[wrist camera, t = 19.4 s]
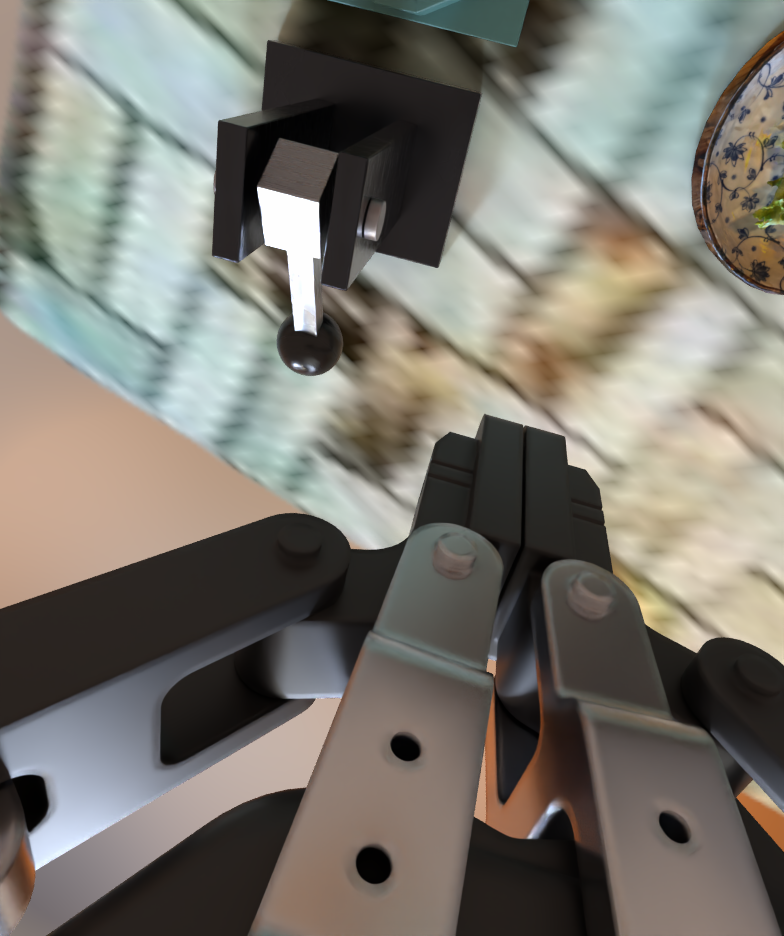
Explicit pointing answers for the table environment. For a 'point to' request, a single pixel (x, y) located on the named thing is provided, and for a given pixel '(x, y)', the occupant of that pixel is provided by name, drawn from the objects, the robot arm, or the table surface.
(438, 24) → the button box
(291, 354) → the lever
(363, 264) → the bracket
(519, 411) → the table surface
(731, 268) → the burger
